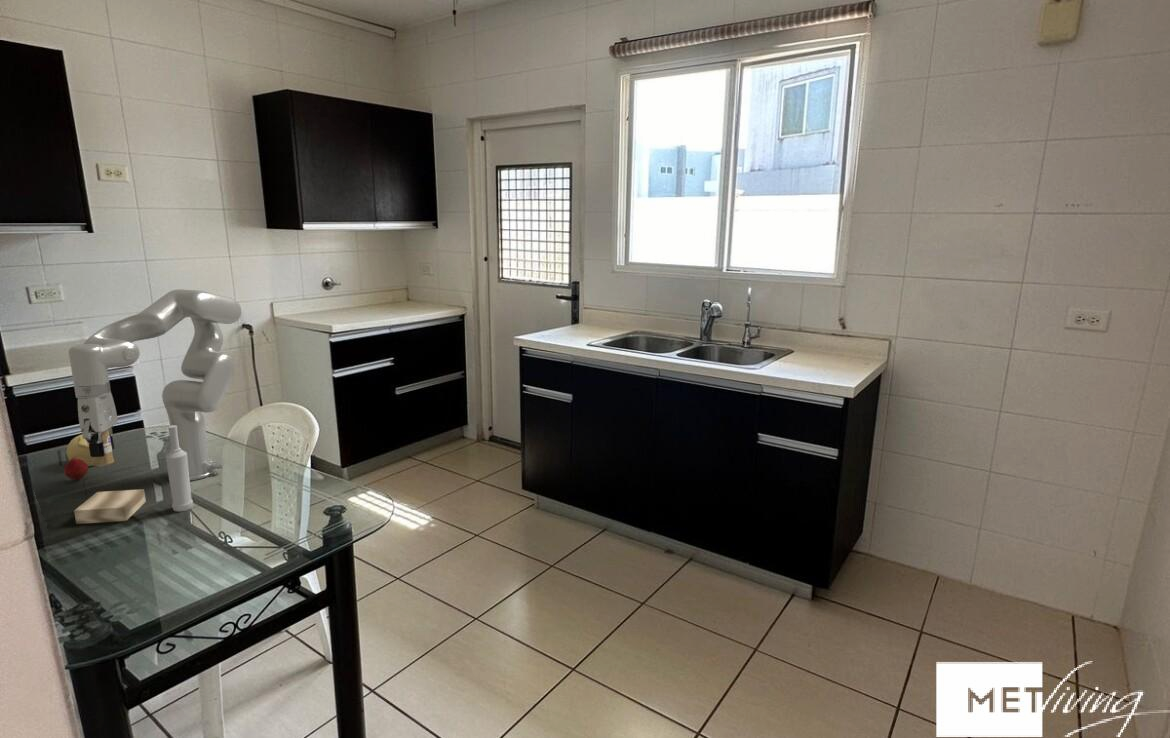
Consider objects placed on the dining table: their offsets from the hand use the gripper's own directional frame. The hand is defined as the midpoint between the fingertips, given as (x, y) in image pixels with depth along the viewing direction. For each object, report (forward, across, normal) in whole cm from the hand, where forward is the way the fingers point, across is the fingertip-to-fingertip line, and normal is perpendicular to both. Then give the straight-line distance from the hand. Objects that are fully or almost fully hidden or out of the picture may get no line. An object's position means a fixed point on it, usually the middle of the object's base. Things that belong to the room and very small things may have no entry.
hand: (102, 452), depth 172 cm
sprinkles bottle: (+4, 0, 0) cm, 4 cm away
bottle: (+18, 0, -18) cm, 26 cm away
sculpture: (+18, +41, +24) cm, 51 cm away
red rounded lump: (+18, +26, +21) cm, 38 cm away
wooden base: (+18, 0, 0) cm, 18 cm away
